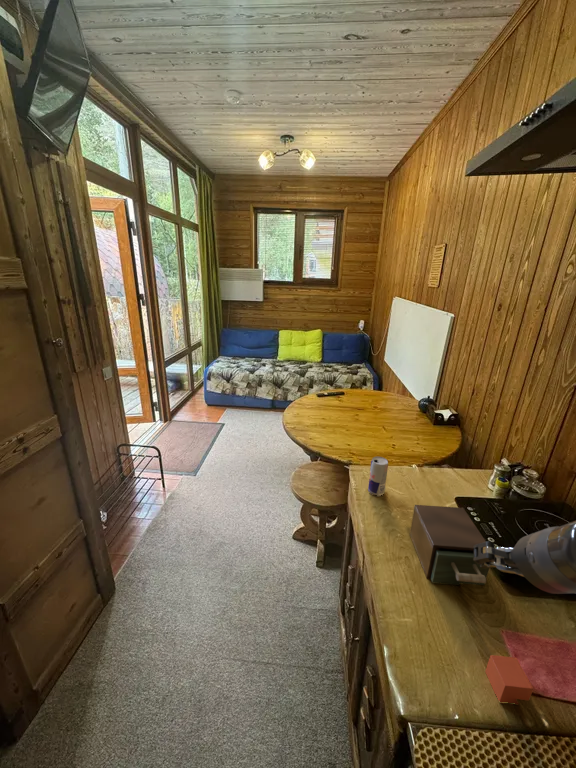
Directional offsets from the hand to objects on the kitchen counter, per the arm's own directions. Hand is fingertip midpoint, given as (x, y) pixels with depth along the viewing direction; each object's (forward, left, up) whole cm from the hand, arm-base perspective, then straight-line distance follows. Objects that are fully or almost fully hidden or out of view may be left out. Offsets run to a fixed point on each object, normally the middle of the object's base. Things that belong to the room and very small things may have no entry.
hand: (508, 569), depth 55 cm
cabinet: (+1, -19, -18) cm, 26 cm away
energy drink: (+13, -44, -18) cm, 50 cm away
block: (+1, +8, -18) cm, 20 cm away
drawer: (+1, -15, -17) cm, 23 cm away
